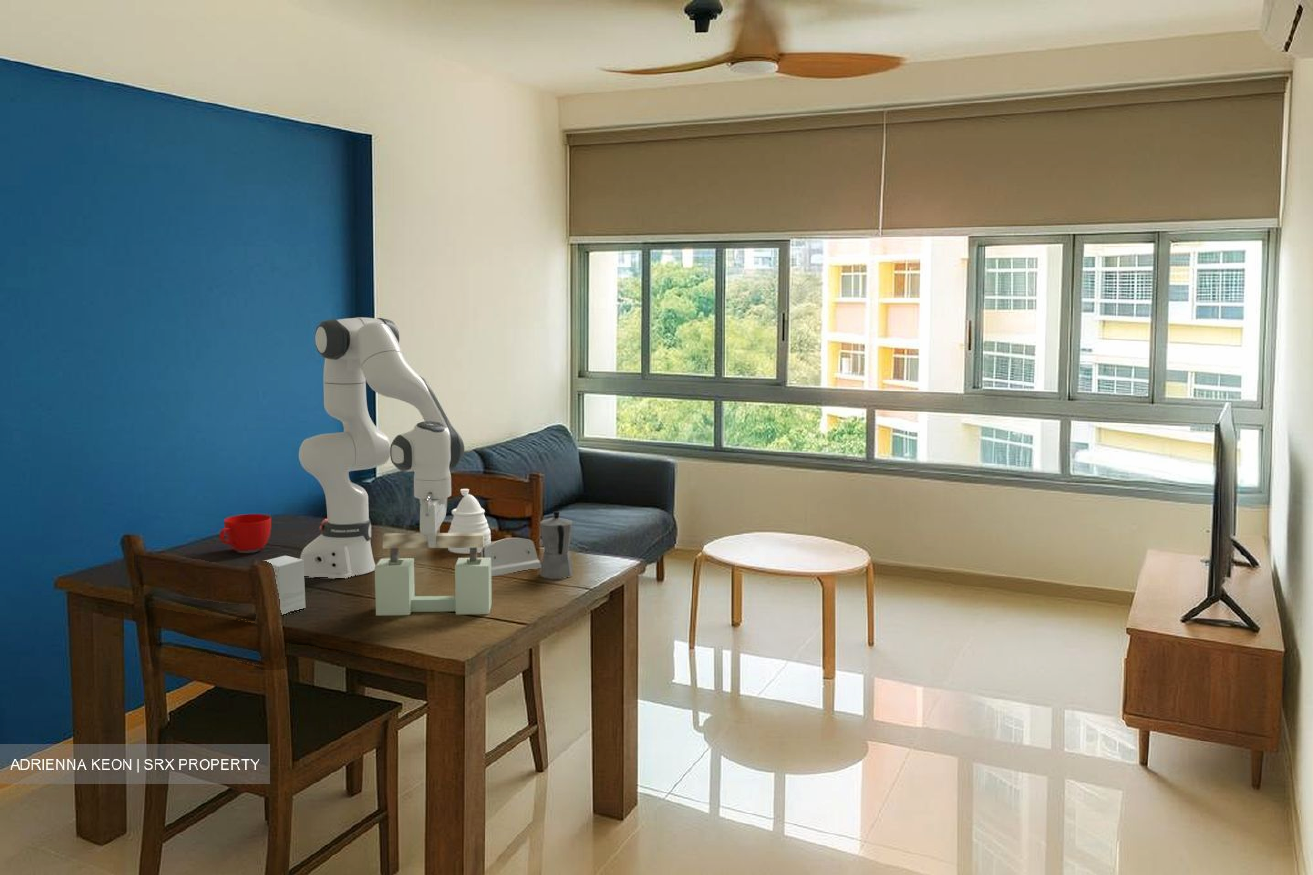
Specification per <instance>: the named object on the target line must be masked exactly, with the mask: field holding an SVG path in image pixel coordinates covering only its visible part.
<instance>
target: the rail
mask: <svg viewBox="0 0 1313 875" xmlns="http://www.w3.org/2000/svg"><path fill="white" fill-rule="evenodd" d="M483 546H484V533H448V532H439V533H436V547H435V548H434V549H448V548H470V554H469V558H470V562H476V560H477V558H478V553H477V548H483ZM382 549H389V556H390V557H389V558H390V562H397V561H398V560H399V558H400V552H399V550H400V549H430V548H429V547H428V538H427V535H421V533H420V532H415V533H414V532H403V533H400V532H399V533H398V532H394V533H393V532H392V533H387V532H386V533H383V535H382Z"/></svg>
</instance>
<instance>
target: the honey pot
mask: <svg viewBox="0 0 1313 875" xmlns="http://www.w3.org/2000/svg"><path fill="white" fill-rule="evenodd" d="M469 492H470V489H469V488H461V489H460V493H461V495H462V496H463V497H462V498H461V500H460V501H459V503H458V505H457V507H456V508H453V509H452V510H451V514H452V515H453V517H452V520H451V522H450V523H451V524H450V526H449V530H448V531H447V533H484V546H483V547H485V546H486V545H488V544H490V543H492V541H491V540H492V535H491V529H490V528H489V523H488V520H487V518H486V517H485V513H486V511H485V509H484V508H483V507H482V506H481V504H480V503H479V500H478V499H477V498H476V497H475V496H474V495H472V494H470V493H469ZM447 549H448V551H449V552H450V553H455V554H465V555H466V554H469V555H470V548H447ZM481 550H482V548H477V554H480V553H481Z"/></svg>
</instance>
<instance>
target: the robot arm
mask: <svg viewBox="0 0 1313 875" xmlns="http://www.w3.org/2000/svg"><path fill="white" fill-rule="evenodd" d="M314 343H315V348H316V349H317V352H318V353H319V355H320V356H321V357H323V358H324V365H323V407H324V410H325V412H326V413H327V414H328V415H329V416H330V417H332V418H334V419H336V420H339V421H340V422H341V423H342V426H343V431H340V432H333V433H332V432H330V433H321V434H317V435H314V436H311V437H307V438H306V439H304V440H303V441H302V443H301V444H300V447H299V451H298V459H299V462H300V465H301V467H302V468H303V469H304V470H305V471H306V472H307V473H308V474H310V475H312V476H313V477H314V478H315V479H316V480H317V481H318V482H319V484H320V486H321V487H322V489H323V494H324V495H325V504H326V515H327V517H326V518H324V519H323V520H322V521H321V523H320V526H319V531H320V535H318V536H317V537H316V538H315V539H313V540H311V542H309V543H308V544H307V545H306V546H305V547H304V548H303V549H302V551H301V553H300V556H299V559H302V560H303V562H304V576H309V577H308V578H314V577H328V578H327V579H335V578H345V579H348V577H349V578H351V576H352V577H355V575H356V576H361V575H365V574H368V573H371V572H375V566H376V565H377V564H376V563H375V559H374V556H373V550H372V545H371V544H372V543H371V539H372V523H371V519H370V518H369V516H370V515H369V495H368V492H367V491H366V489H365V488H364V487H362V486H361V485H359V484H356V483H354V482H352V481H351V479H350V475H349V473H350V472H354V471H362V470H370V469H371V470H372V469H374V468H377V467H380V466H382V465H383V466H384V465H385V464H387V462H388V461H389V460H390V461H391V464H393V466H394V467H395V468H396V469H398V470H399V471H400V472H401V471H402V472H414V474H413V497H414V498H415V499H418V500H419V504H420V506H419V507H420V508H419V533H421V535H427V538H428V547H429V548H428V549H436V548H435V547H436V533H440V529H441V525H442V523H443V522H444V520H445V518H446V516H447V515H446V514H447V508H448V498H450V497H451V496H452V475H451V473H452V472H450V470H451V469H454V468H456V467H457V466H458V465H459V463H460V462H461V460H462V459H463V457H464V455H465V444H464V441H463V439H462V437H461V436H460V434H459V432H457V430H456V429H455V428H454V426H453V425H452V424H451V421H450V420H449V418H448V417H447V414H446V412H445V411H444V409H443V407H442V405H441V403H440V402H439V400H438V398H437V396H436V393H434V391H433V389H432V388H431V386H430V385H429V382H428V381H427V380H426V379H425V378H424V377H422V376H420V375H419V374H418V373H417V372H416V371H415V370H414V369H413V368H412V367H411V366H410V364H409V362H408V361H407V359H406V357H405V354H404V352H403V349H402V347H401V345H400V333H399V329H398V327H397V325H396V324H395V322H394V321H392V320H390V319H387V318H382V317H377V318H374V317H365V316H364V317H359V316H357V317H352V318H351V317H350V318H340V319H335V318H331V319H326V320H323V321H321V322H320V323H319V324H318V325H317V327H316V329H315V333H314ZM367 384H368V386H369V388H371V390H372V391H374V392H375V393H377V394H379V395H380V396H384V397H387V398H391V399H395V400H398V401H402V402H405V403H408V404H409V405H412V406H413V407H414V408H416V409H417V411H418V412H419V414H420V416H422V419H423V421H421V422H418V423H416V424H415V426H414V428H413V429H411V430H410V431H407V432H403V433H402V434H398V435H396V436H395V438H393V440H392V442H391V441H390V439H389V437H388V435H387V434H385V433H384V432H383V431H382V430H380V429H379V428H378V427H377V426H376V425H375V423H374V421H373V420H372V418H371V417H370V414H369V413H370V412H369V410H368V402H367Z"/></svg>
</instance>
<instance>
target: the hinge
mask: <svg viewBox="0 0 1313 875" xmlns="http://www.w3.org/2000/svg"><path fill="white" fill-rule="evenodd" d="M480 553H481V558H491V577H496V576H502V575H503V576H504V575H508V574H509V573H510V574H514V573H513V572H516V573H518V572H517V571H522V570H528V569H534V570H539V569H538V568H540V569H541V565H542V562H541V561H540V559H539V556H538V553H537V550H536V546H535V544H534V541H533V540H531V539H529V538H524V537H523V538H522V537H506V538H502V539H499V540H495V541H492V542H491V543H490V544H488V545H486V546H485V547H483V548H482V550H481V552H480ZM528 571H529V570H528ZM522 572H523V571H522Z"/></svg>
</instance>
